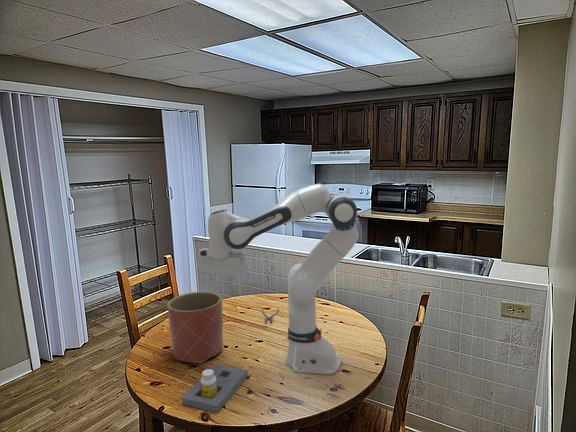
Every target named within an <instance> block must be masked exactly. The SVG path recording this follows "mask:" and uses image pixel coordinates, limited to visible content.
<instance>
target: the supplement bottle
mask: <svg viewBox="0 0 576 432" xmlns="http://www.w3.org/2000/svg"><path fill="white" fill-rule="evenodd" d="M200 379H201V393H202V395H201V397H204V398H209V399H213V398H214V397H215V396H216V394H217V393H218V392H217V381H216V377H215V376H214V371H213V370H212V369H211V368H207V369H204V370H203V371H202V373H201V378H200Z"/></svg>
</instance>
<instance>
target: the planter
mask: <svg viewBox="0 0 576 432" xmlns="http://www.w3.org/2000/svg"><path fill="white" fill-rule="evenodd" d="M166 306H167V314H168V315H167V316H168V323H169V324H168V325H169V329H170V336H171V344H172V352H173V356H174V358H175V359H177V360H178V361H180V362H186V363H193V364H194V363H195V364H203V362H204V363H205V362H206V361H207V360H209V359H211V358H213V357H215V356H217V355H218V354H219V353H220V352H221V351H222V349H223V343H224V342H223V341H224V339H223V331H224V329H223V297H222V295H220V294H218V293H216V292H212V291H194V292H193V291H191V292H188V293H183V294H180V295H178V296H174V297H173V298H172V299H170V300H169V301H168V302H167V305H166Z"/></svg>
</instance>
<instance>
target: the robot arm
mask: <svg viewBox="0 0 576 432" xmlns="http://www.w3.org/2000/svg"><path fill="white" fill-rule="evenodd" d="M317 213H324V214H326V216H327V219H329V221H331V223H332V227H331V229H330V230H329V232H328V233H326V235H325V236H324V237H323V238H322V239H321V240H320V241H318V243H317V244H316V246H314V247H313V248H312V249H311V250H310V252H309V254H308V255H307V257H306V258H305V260H304V261H303V262H302V263H296V264H294V265H293V266H292V267H291V268H290V269H289V271H288V274H287V298H288V299H287V306H288V328H287V339H288V349H287V354H286V355H287V356H286V359H285V362H286V364H287V365H288V366H289V367H290V368H291V369H292V371H293V372H294V373H298V374H300V373H301V374H315V375H330V376H331V375H334V374H335V373H337V372H338V371H339V370H340V368H341V366H342V357H341V355H339V354H337V353H336V349H335V346H334V344H332V343H331V342H329V341H328V340H327V339H326V338H324V337H323V336H322V327H320V328H318V326H317V309H316V308H317V307H316V305H317V304H316V293H317V292H318V290H319V289H320V287H321V286H322V285H323V284H324V283H325V281H326V279H327V278H328V277H329V275H330V274H331V272H332V271H333V270H334V269H335V268H336V266H337V265H339V263H341V261H342V260H343V259H344V258H345V257H346V256H347V255H348V254H349V252H350V251H351V250H352V249H353V247H354V246H355V245H356V243H357V241H358V240H359V236H360V233H359V231H358V229H357V227H356V226H355V223H356V219H357V215H358V208H357V204H356V203H355V201H353V200H352V199H351V197H349V196H346V195H343V194H335V193H330V191H329V189H328V188H327V187H326V186H325V185H324V184H322V183H316V184H311V185H307V186H304V187H302V188H300V189H297V190H294V191H293V192H291V193H289V194H287V195H286V196H284V197H283V198H282V199H280V200H279V202H278V203H277V204H276V205H274V207H273V208H271V209H270V210H269V211H267V212H266V213H263V214H261V215H258V216H256V217H255V218H253V219H249V218H247V217H242V216H239V215H235V214H234V213H232V212H230V211H229V210H228V209H221V210H216V211H213V212H211V213H210V214H209V215H208V218H207V219H208V220H207V234H208V238H209V241H208V246H207V247H205V248H202V249H200V250H198V251H197V253H198V259H197V271H198V272H199V273H203V274H206V277H207V278H208V280H209V284H210V285H214V284H215V283H216V279H215V278H214V277H213V275H221V276H231V278H232V280H231V281H230V282H229V285H230V286H231V287H236V284H237V283H236V281H237V280H238V278H239V277H242V276H244V275H245V274H246V273H247V269H246V268H247V267H246V261H245V260H246V259H245V258H246V257H245V255H244V254H243V253H242V252H239V251H233V249H234V250H241V249H242V250H243V249H244V248H246V247H247V246H248V245H249V244H250V243H251V242H252V241H253V240H254V239H255V238H257V237H258V236H260V235H262V234H265V233H267V232H269V231H270V230H273V229H275V228H278V227H280V226H283V225H286V224H289V223H294V222H298V221H300V220H303V219H306V218H308V217H310V216H312V215H315V214H317Z"/></svg>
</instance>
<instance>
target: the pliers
mask: <svg viewBox="0 0 576 432" xmlns="http://www.w3.org/2000/svg"><path fill="white" fill-rule="evenodd" d="M279 312H280V310H279V308H277V311H276V312H275V313H273V314H272V315H271V316H268V315H267V314H266V313H264V308H262V309H261V314H262V315H263V316H264V317H265V319H264V322H263V323H264V324H265V325H266V324H267V323H268V321H269V322H270V323H269V324H270V325H271V324H272V323H273V322H274V321H273V318H274V317H275V316H276V315H277V314H279Z"/></svg>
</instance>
